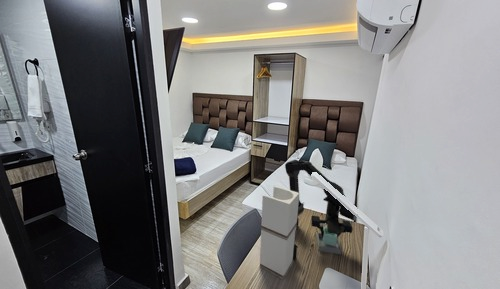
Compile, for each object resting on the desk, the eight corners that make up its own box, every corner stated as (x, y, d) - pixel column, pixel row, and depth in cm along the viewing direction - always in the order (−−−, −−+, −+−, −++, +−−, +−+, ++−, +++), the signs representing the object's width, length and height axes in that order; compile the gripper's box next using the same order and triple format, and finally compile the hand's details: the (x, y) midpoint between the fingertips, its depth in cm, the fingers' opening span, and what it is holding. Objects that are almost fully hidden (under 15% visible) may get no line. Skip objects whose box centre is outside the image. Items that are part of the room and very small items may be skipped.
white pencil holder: (293, 262, 92) (299, 192, 83) (283, 280, 83) (289, 204, 75) (270, 252, 98) (274, 185, 89) (259, 267, 89) (262, 195, 81)
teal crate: (323, 242, 100) (324, 234, 99) (321, 235, 106) (323, 226, 105) (335, 245, 99) (337, 236, 98) (334, 237, 105) (335, 228, 104)
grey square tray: (318, 251, 100) (319, 245, 99) (316, 237, 109) (317, 232, 109) (340, 255, 97) (341, 250, 97) (336, 240, 107) (337, 235, 107)
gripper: (313, 217, 93) (310, 245, 97) (357, 224, 89) (352, 253, 93) (312, 204, 104) (309, 231, 107) (352, 210, 99) (347, 237, 103)
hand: (328, 238), depth 102 cm, fingers closed on teal crate, 6 cm apart
